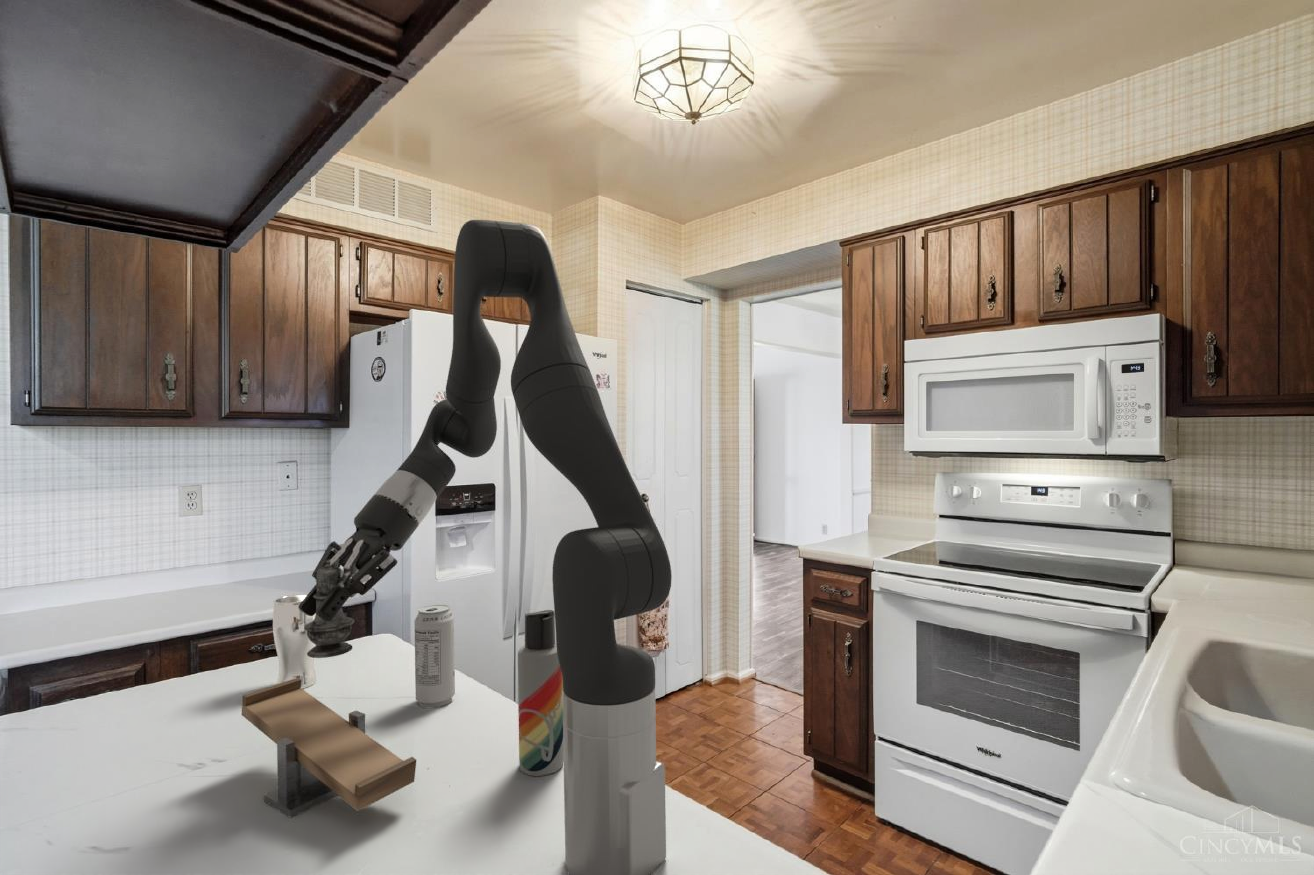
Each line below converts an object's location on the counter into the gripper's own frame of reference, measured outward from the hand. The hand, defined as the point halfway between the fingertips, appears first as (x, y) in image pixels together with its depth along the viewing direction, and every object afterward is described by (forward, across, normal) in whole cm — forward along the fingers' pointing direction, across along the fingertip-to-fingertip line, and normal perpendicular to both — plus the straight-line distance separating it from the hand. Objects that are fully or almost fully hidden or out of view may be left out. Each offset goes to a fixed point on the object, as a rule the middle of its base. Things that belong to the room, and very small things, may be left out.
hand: (313, 614), depth 83 cm
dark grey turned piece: (+2, 0, +5) cm, 6 cm away
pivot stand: (+15, +5, +13) cm, 21 cm away
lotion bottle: (+2, +23, +26) cm, 35 cm away
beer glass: (+5, -33, +24) cm, 41 cm away
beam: (+12, +5, +10) cm, 16 cm away
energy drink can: (-1, -6, +30) cm, 31 cm away
